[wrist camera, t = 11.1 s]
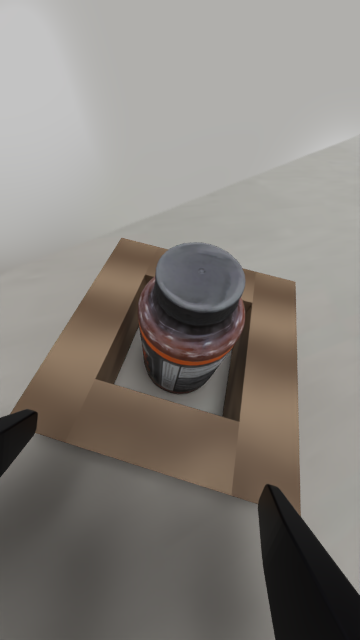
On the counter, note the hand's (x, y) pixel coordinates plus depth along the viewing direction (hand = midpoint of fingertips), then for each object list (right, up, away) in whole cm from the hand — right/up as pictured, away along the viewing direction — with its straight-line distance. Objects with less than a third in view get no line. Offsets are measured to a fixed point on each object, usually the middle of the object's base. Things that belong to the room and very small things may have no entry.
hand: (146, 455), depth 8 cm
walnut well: (+1, +2, +11) cm, 11 cm away
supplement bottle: (+1, +1, +11) cm, 11 cm away
